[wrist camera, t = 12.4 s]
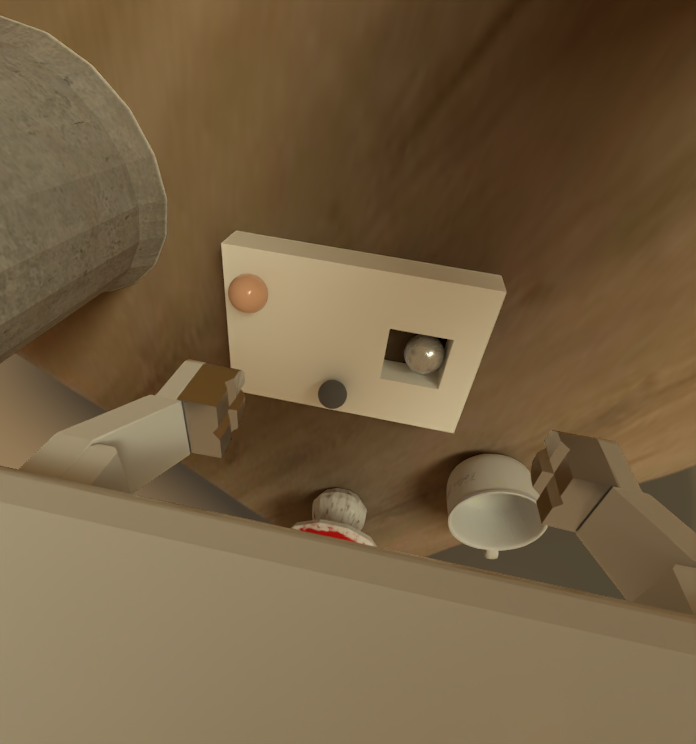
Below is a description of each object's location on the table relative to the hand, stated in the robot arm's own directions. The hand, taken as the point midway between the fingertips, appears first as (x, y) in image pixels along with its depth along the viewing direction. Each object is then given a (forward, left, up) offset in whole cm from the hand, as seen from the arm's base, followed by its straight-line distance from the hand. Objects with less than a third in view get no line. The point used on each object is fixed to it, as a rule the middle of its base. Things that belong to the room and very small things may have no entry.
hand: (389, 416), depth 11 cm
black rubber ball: (+4, +20, -24) cm, 32 cm away
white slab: (+3, +15, -29) cm, 33 cm away
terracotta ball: (+13, +10, -24) cm, 29 cm away
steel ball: (-4, +15, -27) cm, 31 cm away
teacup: (-16, +34, -29) cm, 48 cm away
